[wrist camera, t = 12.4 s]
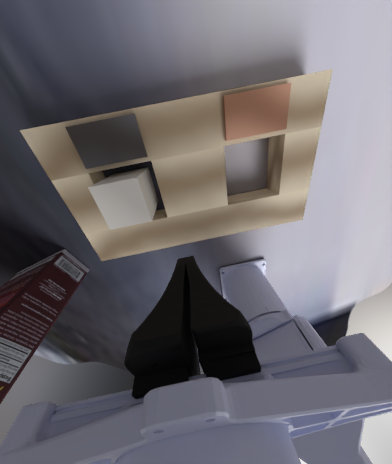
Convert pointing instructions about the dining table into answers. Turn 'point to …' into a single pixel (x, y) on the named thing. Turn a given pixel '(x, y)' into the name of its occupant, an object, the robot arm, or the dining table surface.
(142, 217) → the plug
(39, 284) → the supplement box
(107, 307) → the dining table surface
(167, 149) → the socket block
